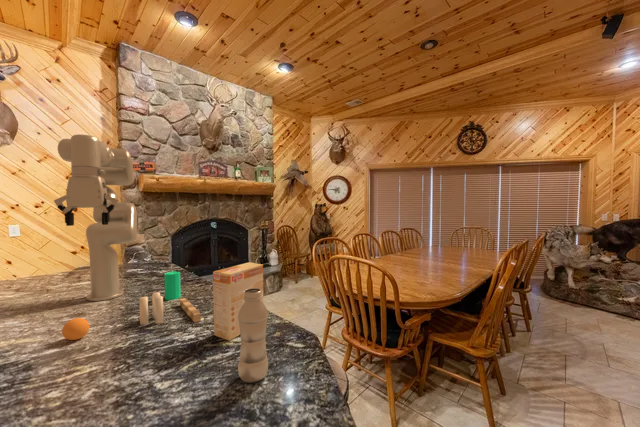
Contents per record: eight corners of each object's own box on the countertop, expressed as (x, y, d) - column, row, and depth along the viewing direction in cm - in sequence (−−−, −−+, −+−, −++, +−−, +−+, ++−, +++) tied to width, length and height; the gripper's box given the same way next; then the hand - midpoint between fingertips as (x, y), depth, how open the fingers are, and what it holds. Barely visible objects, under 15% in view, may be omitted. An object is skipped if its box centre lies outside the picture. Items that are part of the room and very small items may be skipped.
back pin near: (154, 322, 94) (154, 296, 93) (162, 320, 95) (162, 295, 95) (155, 324, 92) (155, 298, 92) (164, 322, 93) (163, 297, 93)
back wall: (179, 305, 109) (179, 299, 109) (185, 304, 110) (185, 297, 110) (194, 322, 93) (194, 314, 93) (200, 320, 95) (200, 313, 95)
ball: (63, 338, 83) (62, 318, 82) (89, 332, 86) (89, 313, 86) (61, 346, 78) (60, 325, 78) (89, 339, 82) (88, 319, 82)
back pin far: (152, 317, 98) (151, 293, 97) (160, 315, 99) (159, 291, 99) (153, 319, 96) (152, 295, 95) (161, 317, 97) (160, 293, 97)
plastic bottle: (241, 370, 66) (239, 286, 66) (270, 368, 67) (269, 285, 66) (235, 388, 60) (233, 295, 59) (267, 386, 61) (266, 294, 60)
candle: (174, 300, 115) (173, 271, 114) (161, 299, 116) (160, 270, 115) (183, 295, 121) (183, 267, 120) (171, 294, 122) (171, 267, 121)
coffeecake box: (249, 317, 97) (248, 261, 96) (264, 322, 93) (264, 264, 93) (212, 335, 84) (211, 270, 83) (229, 341, 81) (228, 274, 80)
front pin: (139, 322, 93) (138, 297, 93) (147, 320, 95) (147, 296, 94) (140, 325, 91) (139, 299, 91) (149, 323, 93) (148, 297, 92)
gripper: (121, 175, 99) (122, 223, 99) (61, 174, 94) (62, 225, 94) (112, 172, 92) (114, 224, 92) (46, 171, 87) (48, 226, 87)
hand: (88, 225), depth 93 cm, fingers open, 9 cm apart
